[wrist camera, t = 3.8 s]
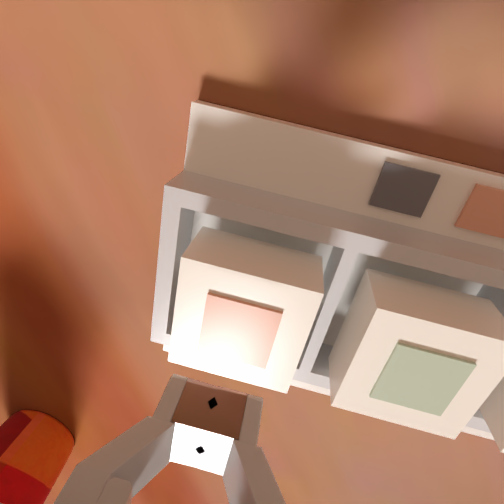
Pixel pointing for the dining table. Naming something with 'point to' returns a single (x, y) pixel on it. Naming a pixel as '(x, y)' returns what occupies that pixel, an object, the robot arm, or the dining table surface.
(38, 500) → the coffee cup
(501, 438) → the charcoal key
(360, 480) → the dining table surface
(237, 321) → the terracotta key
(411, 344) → the sage key
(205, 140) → the keypad base
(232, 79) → the dining table surface
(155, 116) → the dining table surface
